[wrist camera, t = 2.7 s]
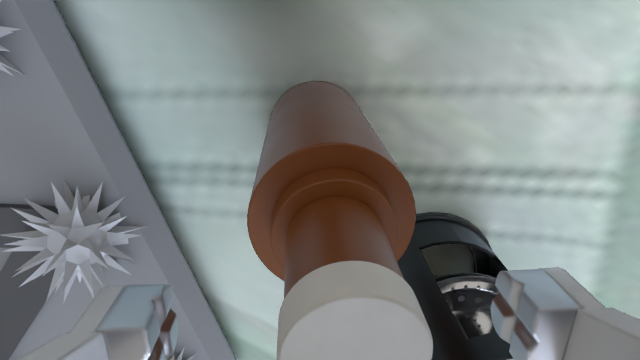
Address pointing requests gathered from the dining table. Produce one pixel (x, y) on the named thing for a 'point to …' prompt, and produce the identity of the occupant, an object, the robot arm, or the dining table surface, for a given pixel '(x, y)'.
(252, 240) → the bottle
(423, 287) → the french press
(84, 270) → the decorative plate
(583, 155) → the dining table surface
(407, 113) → the dining table surface
